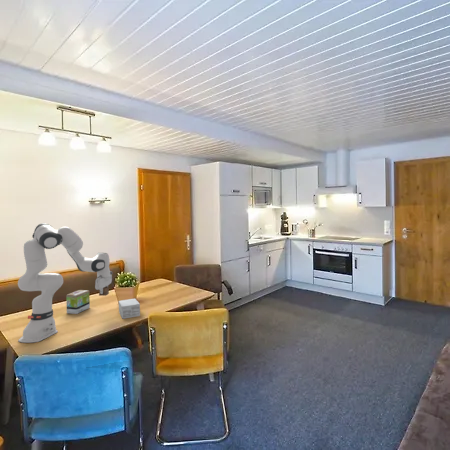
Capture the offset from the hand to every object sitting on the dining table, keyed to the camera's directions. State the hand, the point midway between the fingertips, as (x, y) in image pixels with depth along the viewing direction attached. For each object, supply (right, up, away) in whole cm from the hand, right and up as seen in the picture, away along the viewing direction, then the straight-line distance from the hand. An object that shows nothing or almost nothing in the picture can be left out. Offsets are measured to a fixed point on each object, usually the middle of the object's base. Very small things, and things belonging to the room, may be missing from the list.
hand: (104, 292), depth 222 cm
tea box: (-27, -18, +15) cm, 36 cm away
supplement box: (+17, -18, +6) cm, 26 cm away
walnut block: (0, -2, 0) cm, 2 cm away
